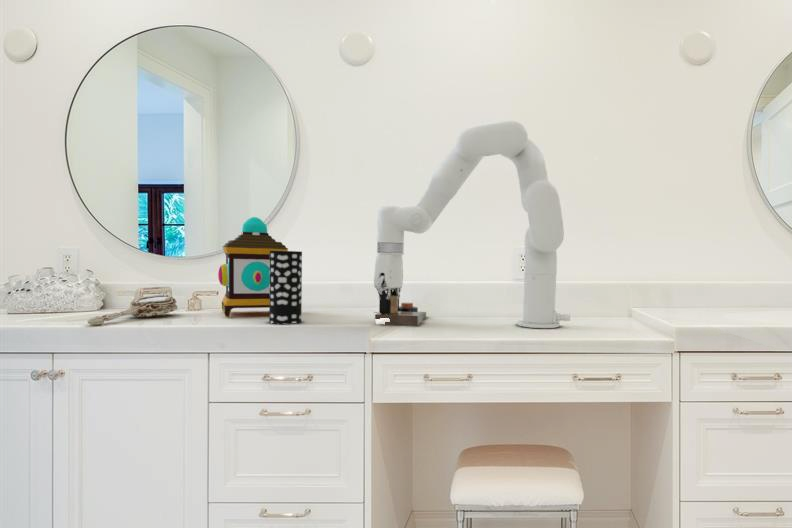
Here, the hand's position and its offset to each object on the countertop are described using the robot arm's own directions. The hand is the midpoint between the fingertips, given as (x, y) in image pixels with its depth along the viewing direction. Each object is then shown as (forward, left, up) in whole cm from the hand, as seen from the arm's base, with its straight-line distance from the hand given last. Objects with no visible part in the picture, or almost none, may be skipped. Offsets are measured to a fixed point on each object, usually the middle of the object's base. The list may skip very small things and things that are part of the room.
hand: (389, 311), depth 160 cm
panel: (-3, 0, -3) cm, 5 cm away
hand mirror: (+68, +8, -4) cm, 69 cm away
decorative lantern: (+44, -12, -4) cm, 46 cm away
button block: (-3, -13, -3) cm, 14 cm away
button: (-3, -13, 0) cm, 13 cm away
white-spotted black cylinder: (+28, +5, -4) cm, 29 cm away
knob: (0, 0, 0) cm, 0 cm away
